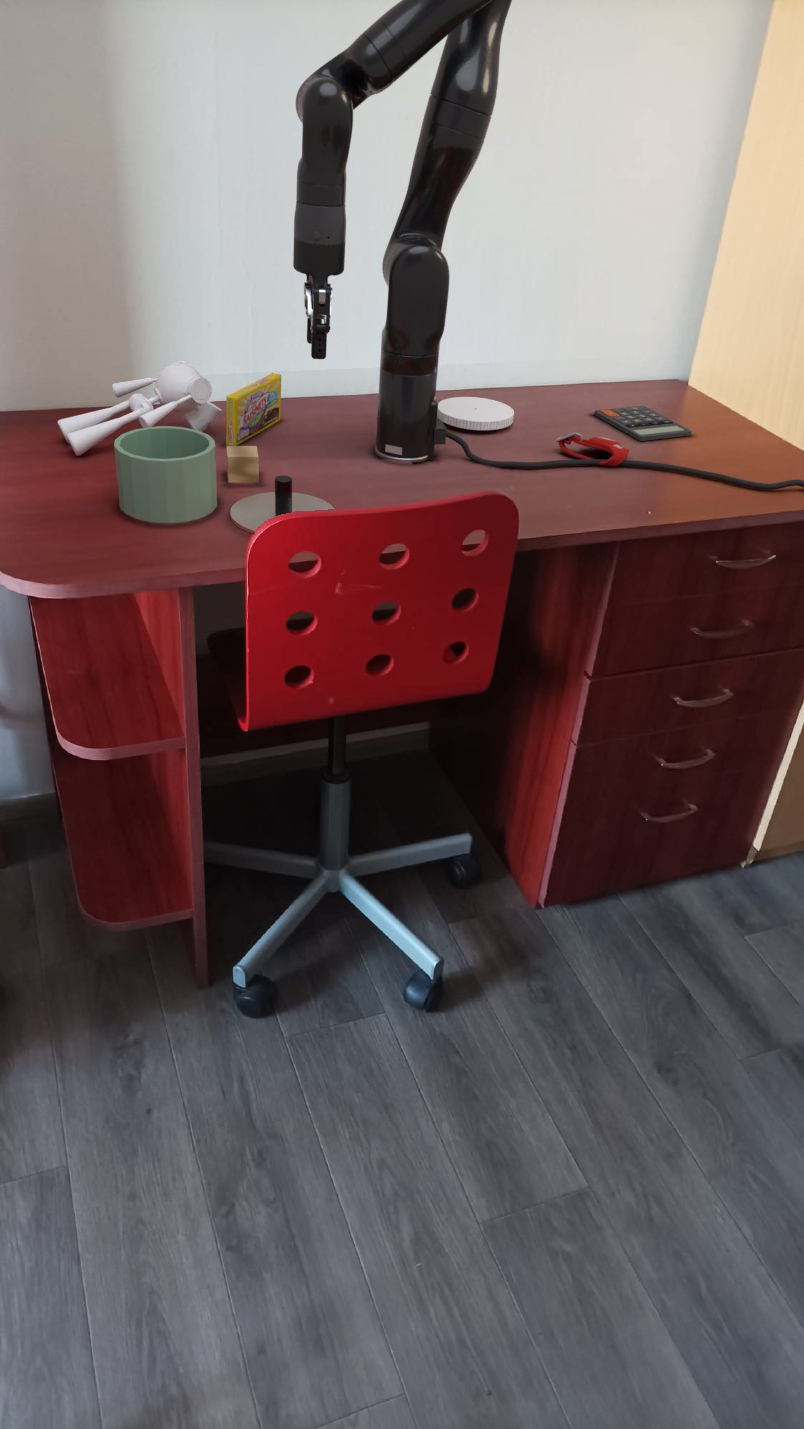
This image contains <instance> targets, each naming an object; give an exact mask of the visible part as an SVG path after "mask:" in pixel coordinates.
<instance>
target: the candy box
mask: <svg viewBox="0 0 804 1429" xmlns="http://www.w3.org/2000/svg"><path fill="white" fill-rule="evenodd" d="M225 401H226V404H225V406H226V407H225V413H226V414H225V446H240V444H242V443H244V442H246V441H247V440H249V439H251V438H252V437H255V436H256V435H257V434H259V433H261V432H263V431H265V430H267V429H268V428H270V427H271V426H273V425H275V424H276V423H278V422H280V421H281V407H282V406H281V405H282V404H281V403H282V375H281V374H279V373H275V372H272V373H269V374H268V375H266V376H263V377H262V378H260V379H258V380H256V381H253V382H252V383H250V384H247V385H246V386H244V387H242V388H240V389H238V390H236V391H234V392H232V393H230V394H228V395H226V400H225Z"/></svg>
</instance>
